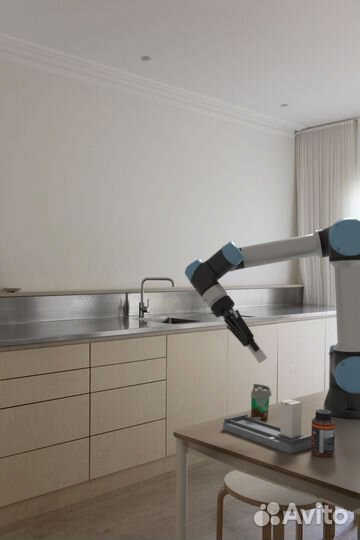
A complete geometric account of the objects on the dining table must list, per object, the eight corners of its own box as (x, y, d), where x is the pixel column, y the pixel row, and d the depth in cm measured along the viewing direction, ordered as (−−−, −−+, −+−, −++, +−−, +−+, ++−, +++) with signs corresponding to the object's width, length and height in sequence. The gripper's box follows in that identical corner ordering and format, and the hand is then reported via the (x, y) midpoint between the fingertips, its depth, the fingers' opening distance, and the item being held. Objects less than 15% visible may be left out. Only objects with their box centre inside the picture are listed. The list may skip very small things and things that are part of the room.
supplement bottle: (308, 450, 141) (308, 408, 141) (329, 449, 142) (330, 407, 142) (315, 458, 135) (316, 414, 135) (338, 457, 136) (338, 414, 136)
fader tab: (289, 434, 148) (290, 398, 148) (303, 438, 144) (304, 402, 144) (277, 437, 145) (278, 401, 145) (291, 442, 141) (292, 405, 141)
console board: (246, 423, 165) (246, 413, 165) (314, 446, 144) (314, 434, 144) (222, 429, 159) (223, 418, 159) (290, 453, 138) (290, 441, 138)
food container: (270, 425, 164) (271, 392, 164) (250, 423, 165) (251, 391, 165) (271, 414, 176) (272, 384, 176) (253, 413, 177) (253, 383, 177)
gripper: (208, 314, 176) (250, 372, 168) (211, 299, 164) (257, 361, 156) (226, 302, 178) (269, 359, 170) (230, 287, 166) (276, 347, 158)
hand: (263, 360), depth 163 cm, fingers closed
